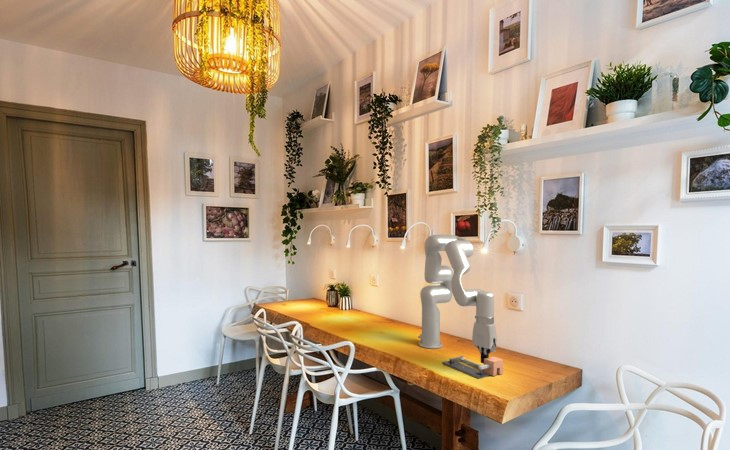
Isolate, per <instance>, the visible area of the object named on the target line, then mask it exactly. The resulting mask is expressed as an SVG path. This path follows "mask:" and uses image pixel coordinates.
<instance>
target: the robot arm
mask: <svg viewBox="0 0 730 450" xmlns="http://www.w3.org/2000/svg"><path fill="white" fill-rule="evenodd" d="M423 248H424V254H425V260H424V262H425V263H424V276H423V277H424V281H425V282H426V283H427V284H436V285H426V286H424V287H423V288H421V289H420V293H419V295H420V296H419V297H420V301H421V333H420V334H419V335H418V336H417V339H420V341H418V345H419V347H422V348H423V349H424V348H425V349H432V350H433V349H440V348H442V347H443V343H442V342H441V341H440V340H441V338H440V336H441V335H440V334H441V333H440V332H441V331H440V330H441V327H440V325H441V311H440V309H439V307H438V304H447V303H449V302H450V301H451V300H452V298H454V300H455V302H456V304H457V305H459V306H460V307H475V316H474V319H475V321H474V323H473V329H472V336H471V337H472V338H471V339H472V340H471V341H472V344H473V345H474V347H476V348H478V349H477V350H478V351H479V354H480V363H481V364H482V365H484V359H485V358H489V357H490V356H489V355H490V354H491V353H494V352H495V353H496V351H497V349H496V347H497V345H498V344H497V343H498V341H497V339H498V338H497V329H496V324H495V295H494V293H493V292H491V291H485V290H484V289H483V290H482V289H480V288H467V289H465V288H464V287H463V284H462V276H464V275H466V274H467V273H469V272H470V271H471V268H472V266H471V263H470V261H469V259H468V258H471V257H472V256H473V255H474V252H475V248H474V245H473V244H472V242H471V241H469V240H467V239H465V238H463V237H460V236H458V235H454V234H433V235H429V236H428V237H427V238H426V239H425V241H424V247H423ZM440 252H445V253H446V256H447V258H448V261H449V263H450V265H451V267H450V266H449V265H442V260H443V259H442V254H441V253H440ZM437 284H439V285H437Z"/></svg>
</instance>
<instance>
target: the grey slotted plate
mask: <svg viewBox="0 0 730 450" xmlns="http://www.w3.org/2000/svg"><path fill="white" fill-rule="evenodd" d="M448 361H450V362H453V361H456V362H460V363H461V362H462V363H464V364H465V365H469V366H470V367H473V368H475V369H476V368H477V369H479V366H482V365H481V364H478V363H476V362H473V361H470V360H467V359H466V358H465V356H464V355H460V356H455V357H451V358H449V359H448ZM482 371H484V369H482Z"/></svg>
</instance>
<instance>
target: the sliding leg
mask: <svg viewBox="0 0 730 450" xmlns="http://www.w3.org/2000/svg"><path fill="white" fill-rule="evenodd" d="M482 369H484V370H482ZM478 370H479V371H480V374H482V372H484V373H487V374H489V375H490V376H492V377H496V376H497V375H503V374H504V359H503V358H499V357H496V356H489V358H485V359H484V364H482V365H481V366H479V368H478Z"/></svg>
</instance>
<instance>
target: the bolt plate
mask: <svg viewBox="0 0 730 450" xmlns="http://www.w3.org/2000/svg"><path fill="white" fill-rule="evenodd" d="M442 365H444V366H446V367H449V368H451V369H454V370H456V371H458V372H461V373H462V374H463V373H464V374H465V375H468V376H471V377H473V378H475V379H478V380H479V379H483V378H488V377H489V374H487V373H484V371H482V374H480V369H476V368H475V367H472V366H470V365H469V366H468V365H467V364H465V363H464V364H463V363H461V362H460V361H453V362H450V361H449V360H445V361H442Z"/></svg>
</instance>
